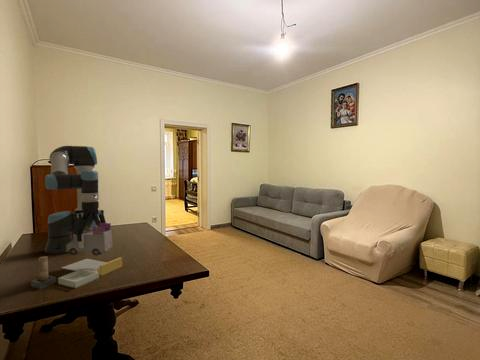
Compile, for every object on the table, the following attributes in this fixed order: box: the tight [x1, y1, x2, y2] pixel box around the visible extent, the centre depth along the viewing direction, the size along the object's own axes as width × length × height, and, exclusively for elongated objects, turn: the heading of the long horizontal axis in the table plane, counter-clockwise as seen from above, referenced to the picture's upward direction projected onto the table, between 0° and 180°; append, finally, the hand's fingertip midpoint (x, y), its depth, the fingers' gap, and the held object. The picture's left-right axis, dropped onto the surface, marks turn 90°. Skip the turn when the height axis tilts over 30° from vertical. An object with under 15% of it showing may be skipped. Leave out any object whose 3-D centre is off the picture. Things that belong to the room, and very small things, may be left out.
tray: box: [57, 269, 100, 289], centre depth 115 cm, size 11×11×3 cm
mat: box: [60, 258, 107, 277], centre depth 132 cm, size 26×14×1 cm, turn 68°
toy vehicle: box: [65, 222, 114, 257], centre depth 131 cm, size 9×20×15 cm, turn 91°
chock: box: [97, 257, 123, 276], centre depth 127 cm, size 3×12×4 cm, turn 158°
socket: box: [30, 274, 57, 290], centre depth 112 cm, size 6×6×2 cm
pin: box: [38, 255, 49, 282], centre depth 112 cm, size 3×3×12 cm
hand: (91, 244), depth 132 cm, fingers open, 10 cm apart
